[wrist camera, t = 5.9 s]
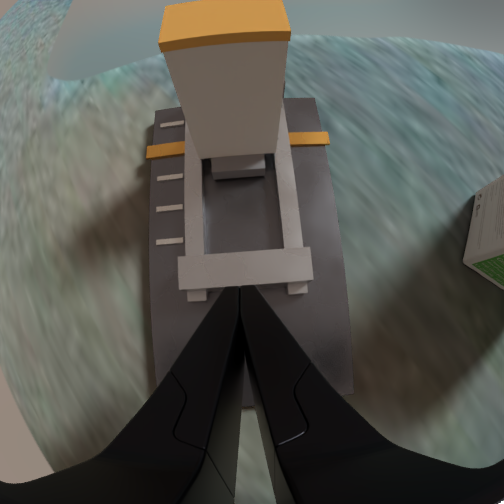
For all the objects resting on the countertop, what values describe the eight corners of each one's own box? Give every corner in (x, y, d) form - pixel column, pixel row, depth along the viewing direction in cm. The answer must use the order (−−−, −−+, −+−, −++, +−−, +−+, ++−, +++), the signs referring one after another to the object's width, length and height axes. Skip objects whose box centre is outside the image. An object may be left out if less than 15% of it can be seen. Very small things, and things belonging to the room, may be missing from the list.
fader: (277, 174, 18) (295, 46, 8) (201, 181, 18) (155, 59, 8) (270, 115, 19) (277, -14, 9) (200, 121, 19) (168, -5, 9)
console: (352, 388, 17) (373, 403, 14) (160, 402, 17) (140, 418, 14) (316, 107, 21) (324, 75, 17) (155, 120, 21) (141, 90, 17)
